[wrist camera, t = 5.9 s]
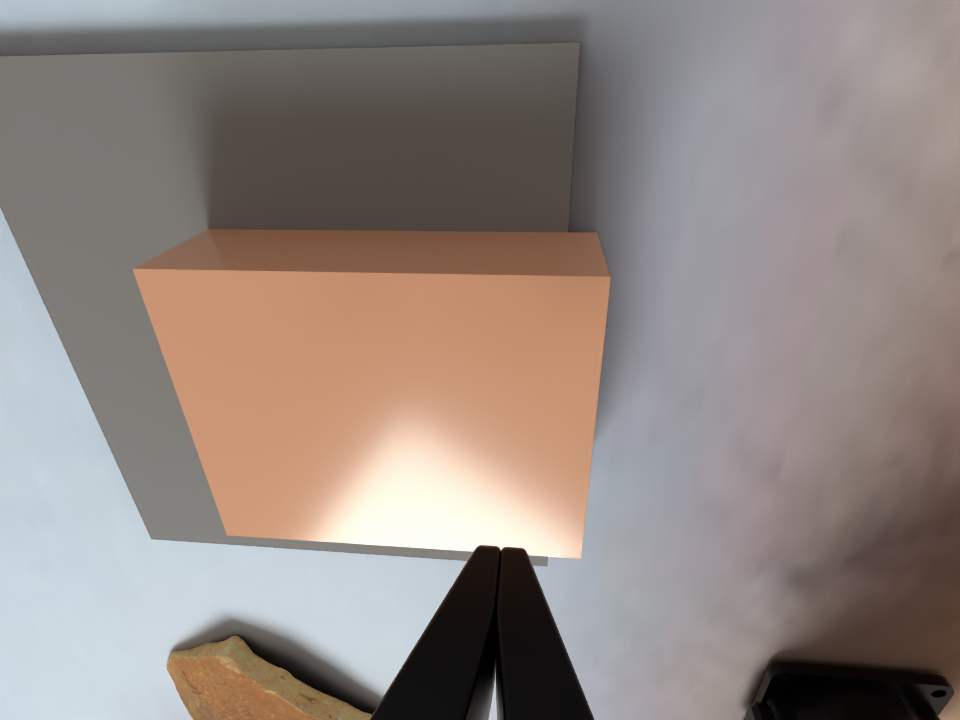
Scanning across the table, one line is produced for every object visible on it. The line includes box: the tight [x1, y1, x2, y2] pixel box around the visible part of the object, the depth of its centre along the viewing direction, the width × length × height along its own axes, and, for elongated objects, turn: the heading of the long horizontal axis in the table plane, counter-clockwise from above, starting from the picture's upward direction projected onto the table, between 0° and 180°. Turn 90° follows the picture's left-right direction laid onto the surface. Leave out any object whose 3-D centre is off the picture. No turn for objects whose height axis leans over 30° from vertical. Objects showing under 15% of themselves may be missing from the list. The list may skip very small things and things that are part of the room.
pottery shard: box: [167, 636, 372, 720], centre depth 25 cm, size 10×9×2 cm
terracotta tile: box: [133, 229, 611, 559], centre depth 14 cm, size 3×8×10 cm
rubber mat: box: [0, 42, 580, 566], centre depth 16 cm, size 15×16×1 cm
